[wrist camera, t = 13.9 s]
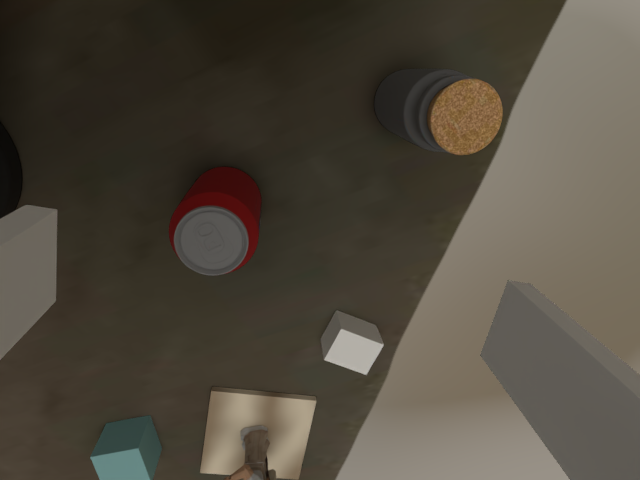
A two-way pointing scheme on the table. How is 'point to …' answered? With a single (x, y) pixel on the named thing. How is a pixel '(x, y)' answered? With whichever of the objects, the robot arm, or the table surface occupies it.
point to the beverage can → (217, 222)
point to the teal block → (127, 450)
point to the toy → (254, 456)
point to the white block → (351, 342)
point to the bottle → (439, 109)
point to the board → (249, 411)
